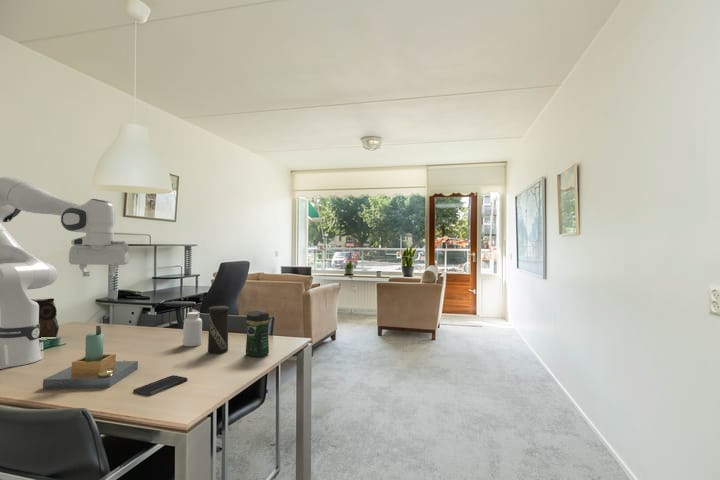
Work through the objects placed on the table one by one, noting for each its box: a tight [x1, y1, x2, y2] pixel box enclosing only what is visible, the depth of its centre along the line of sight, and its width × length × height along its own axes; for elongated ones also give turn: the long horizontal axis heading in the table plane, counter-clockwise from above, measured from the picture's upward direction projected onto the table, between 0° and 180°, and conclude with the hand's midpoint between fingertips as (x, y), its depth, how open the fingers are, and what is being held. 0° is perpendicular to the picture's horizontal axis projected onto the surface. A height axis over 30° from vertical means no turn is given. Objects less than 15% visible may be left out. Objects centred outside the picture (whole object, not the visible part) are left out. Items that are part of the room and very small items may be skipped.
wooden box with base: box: [42, 353, 139, 390], centre depth 125 cm, size 20×18×7 cm
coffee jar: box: [245, 310, 270, 358], centre depth 155 cm, size 10×8×19 cm
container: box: [207, 305, 230, 355], centre depth 159 cm, size 9×9×20 cm
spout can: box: [84, 324, 105, 361], centre depth 125 cm, size 5×5×15 cm
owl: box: [30, 297, 60, 338], centre depth 177 cm, size 13×13×20 cm
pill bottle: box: [182, 311, 203, 347], centre depth 170 cm, size 8×8×15 cm
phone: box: [132, 374, 188, 397], centre depth 119 cm, size 8×1×15 cm
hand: (99, 276), depth 140 cm, fingers open, 8 cm apart
